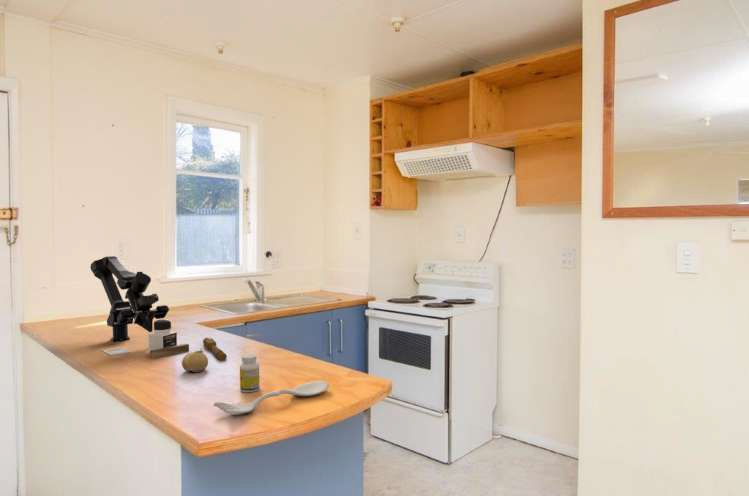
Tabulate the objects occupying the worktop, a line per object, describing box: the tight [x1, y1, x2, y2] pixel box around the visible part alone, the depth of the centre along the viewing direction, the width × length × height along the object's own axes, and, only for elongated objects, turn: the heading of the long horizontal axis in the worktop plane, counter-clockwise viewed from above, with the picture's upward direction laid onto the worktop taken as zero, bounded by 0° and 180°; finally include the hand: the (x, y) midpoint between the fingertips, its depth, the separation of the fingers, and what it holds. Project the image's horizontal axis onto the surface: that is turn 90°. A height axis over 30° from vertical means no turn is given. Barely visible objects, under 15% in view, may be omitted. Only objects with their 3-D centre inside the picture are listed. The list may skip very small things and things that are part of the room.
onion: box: [181, 348, 209, 374], centre depth 162 cm, size 8×8×7 cm
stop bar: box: [149, 343, 190, 359], centre depth 184 cm, size 2×14×2 cm, turn 141°
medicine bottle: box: [148, 318, 178, 354], centre depth 188 cm, size 7×7×12 cm
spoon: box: [213, 380, 330, 416], centre depth 132 cm, size 9×32×4 cm, turn 134°
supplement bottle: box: [239, 354, 261, 394], centre depth 142 cm, size 5×5×10 cm
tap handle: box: [202, 337, 227, 362], centre depth 188 cm, size 3×3×30 cm
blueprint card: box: [102, 347, 131, 356], centre depth 188 cm, size 10×7×1 cm
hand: (151, 331), depth 193 cm, fingers closed
